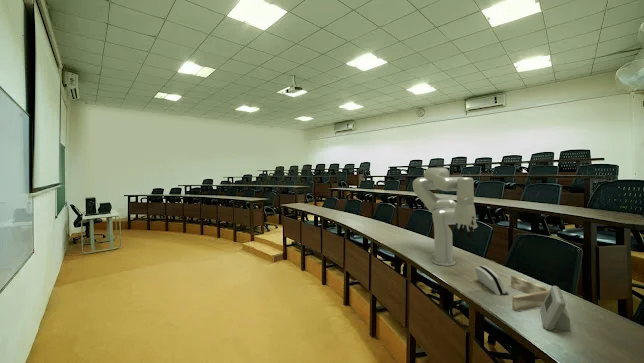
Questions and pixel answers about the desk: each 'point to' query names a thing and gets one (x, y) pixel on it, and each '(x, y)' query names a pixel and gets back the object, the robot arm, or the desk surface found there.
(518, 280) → the wooden corner wall
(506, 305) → the desk surface
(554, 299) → the digital clock
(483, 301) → the desk surface
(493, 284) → the white pencil case
